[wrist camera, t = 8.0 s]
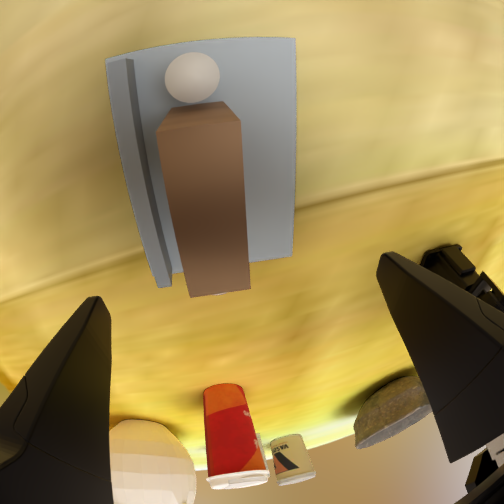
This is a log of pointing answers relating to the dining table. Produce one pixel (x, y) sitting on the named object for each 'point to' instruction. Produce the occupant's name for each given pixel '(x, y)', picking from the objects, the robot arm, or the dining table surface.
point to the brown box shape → (206, 195)
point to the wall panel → (252, 127)
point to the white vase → (149, 465)
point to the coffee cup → (291, 460)
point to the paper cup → (231, 440)
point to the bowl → (391, 411)
